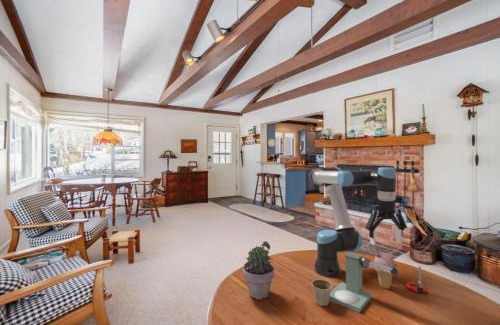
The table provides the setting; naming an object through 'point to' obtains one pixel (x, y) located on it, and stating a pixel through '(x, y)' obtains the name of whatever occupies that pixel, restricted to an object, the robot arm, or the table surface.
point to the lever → (378, 266)
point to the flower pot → (321, 291)
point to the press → (351, 286)
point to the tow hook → (417, 284)
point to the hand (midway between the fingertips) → (385, 243)
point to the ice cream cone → (384, 276)
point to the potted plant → (259, 271)
